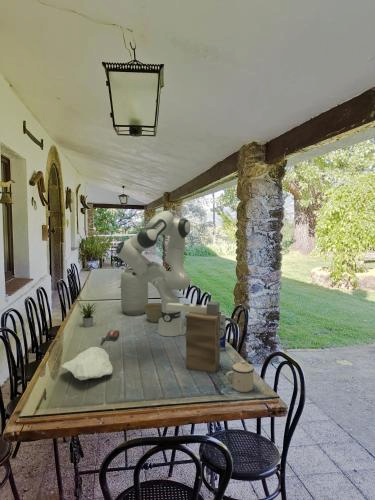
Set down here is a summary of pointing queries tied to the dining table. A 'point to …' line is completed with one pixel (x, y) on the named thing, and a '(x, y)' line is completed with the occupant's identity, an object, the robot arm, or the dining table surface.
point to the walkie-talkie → (111, 336)
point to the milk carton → (222, 332)
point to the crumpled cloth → (90, 364)
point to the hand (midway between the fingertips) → (161, 282)
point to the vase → (133, 293)
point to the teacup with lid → (242, 376)
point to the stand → (202, 341)
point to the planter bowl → (153, 311)
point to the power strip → (195, 308)
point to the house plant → (87, 315)
